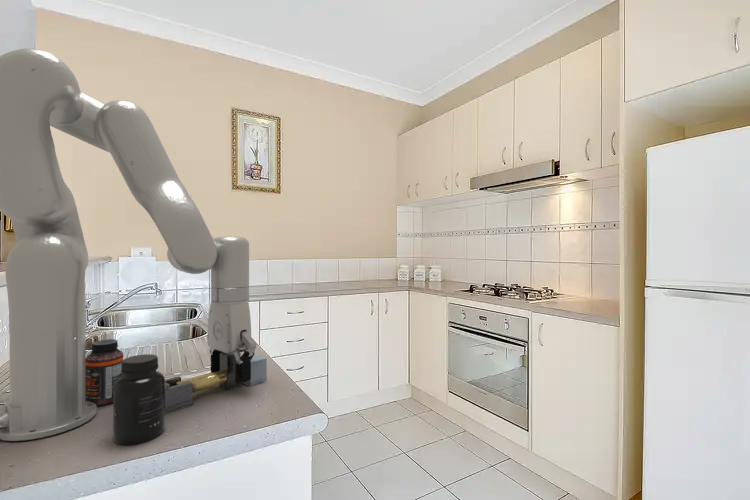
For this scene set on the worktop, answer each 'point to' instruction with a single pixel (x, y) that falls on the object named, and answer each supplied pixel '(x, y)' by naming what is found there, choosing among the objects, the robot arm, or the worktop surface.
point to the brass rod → (216, 376)
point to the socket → (257, 370)
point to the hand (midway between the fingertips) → (230, 376)
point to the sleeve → (177, 394)
